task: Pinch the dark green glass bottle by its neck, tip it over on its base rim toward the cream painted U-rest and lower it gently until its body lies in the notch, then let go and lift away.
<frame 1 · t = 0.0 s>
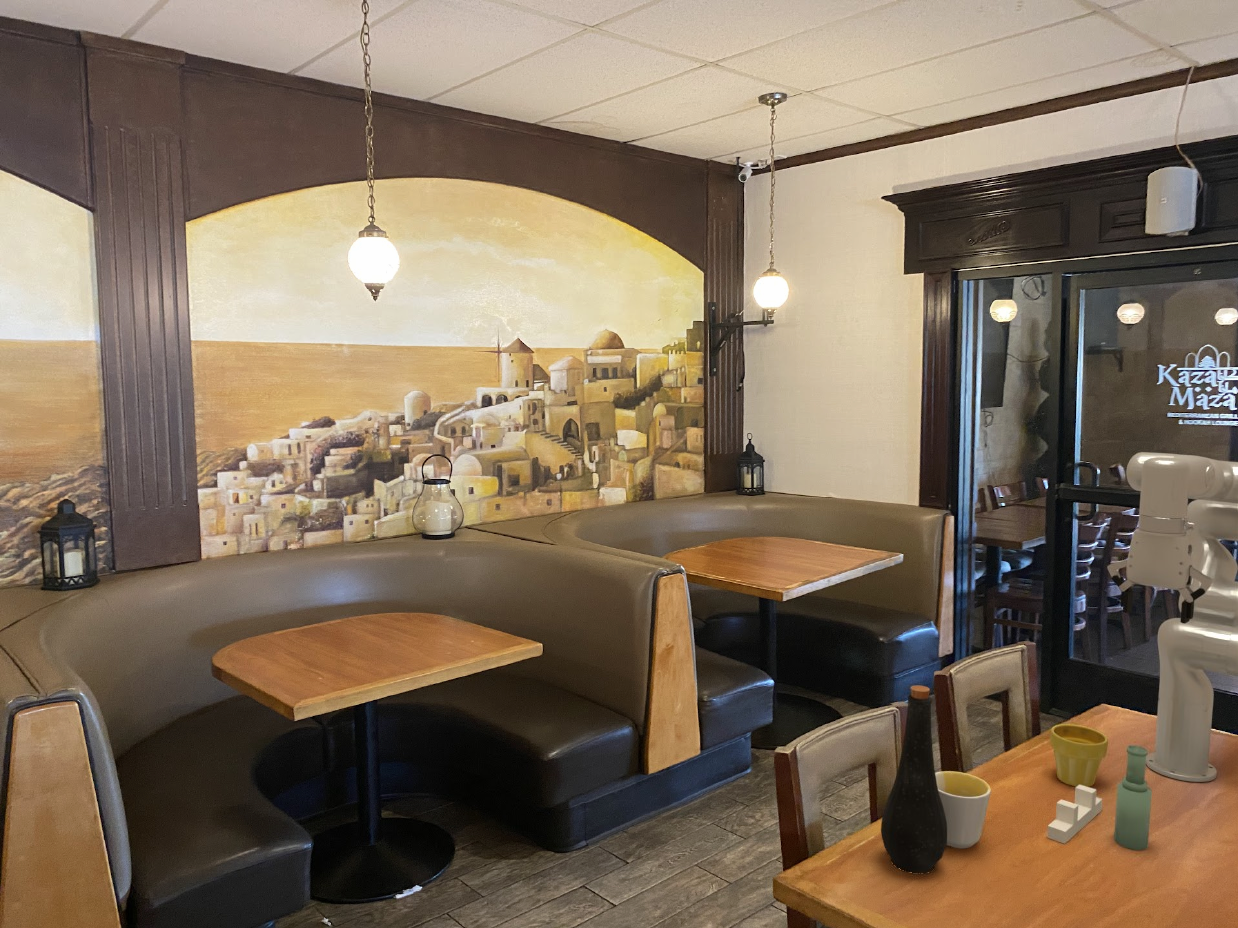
hand: (1155, 616, 173), 37 cm above the table, tool pointing down, fingers open, 9 cm apart
u rest: (1075, 823, 170), on the table
plant pot: (1076, 781, 188), on the table
bottle: (912, 863, 156), on the table
green bottle: (1130, 842, 164), on the table
mug: (962, 839, 165), on the table
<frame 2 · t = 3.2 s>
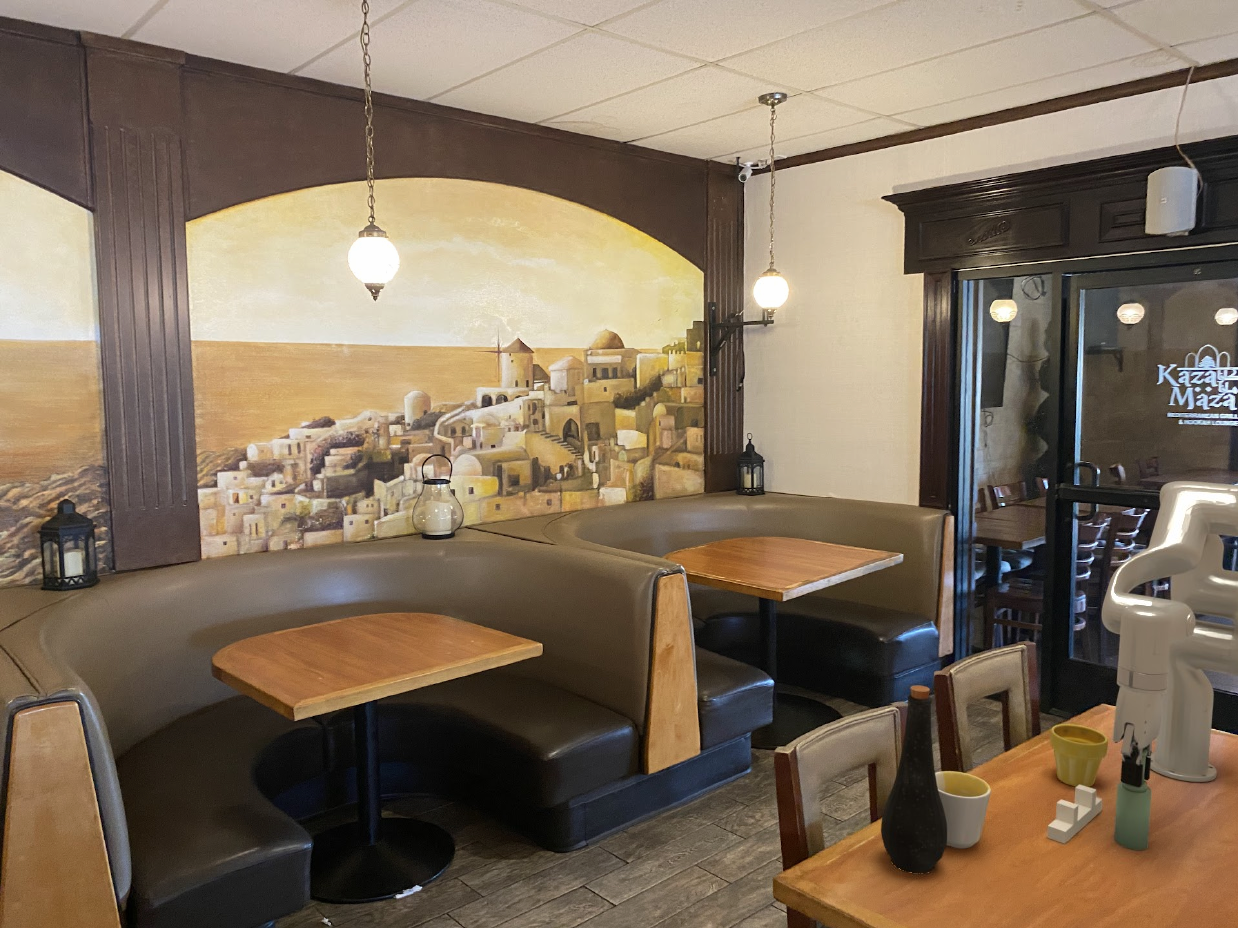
hand: (1135, 779, 162), 11 cm above the table, tool pointing down, fingers closed on green bottle, 3 cm apart
green bottle: (1130, 842, 164), on the table, touching gripper
everything else where it was.
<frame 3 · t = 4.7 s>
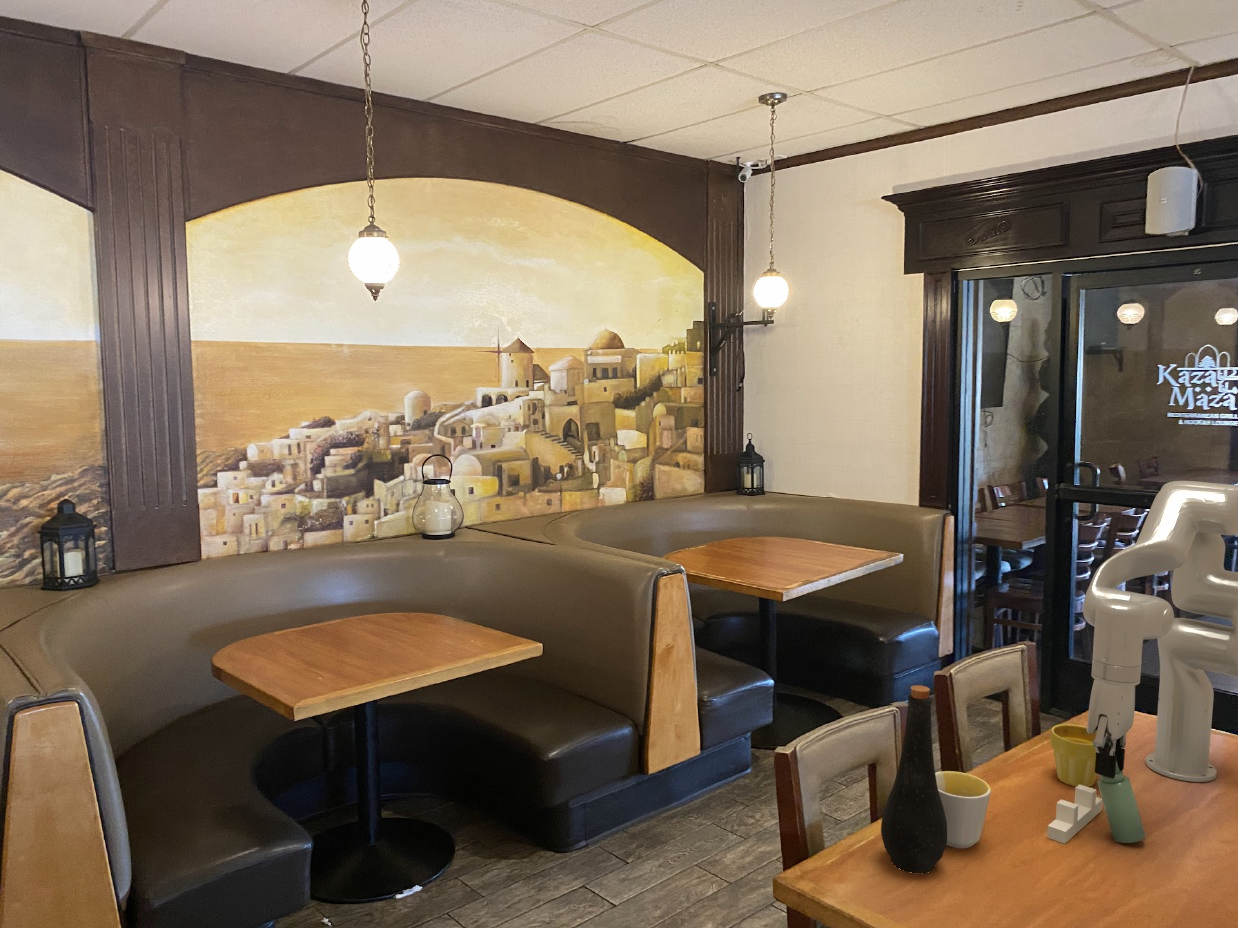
hand: (1109, 770, 165), 12 cm above the table, tool pointing down, fingers closed on green bottle, 3 cm apart
green bottle: (1129, 836, 164), point 1 cm above the table, tilted 18°, touching gripper
everything else where it was.
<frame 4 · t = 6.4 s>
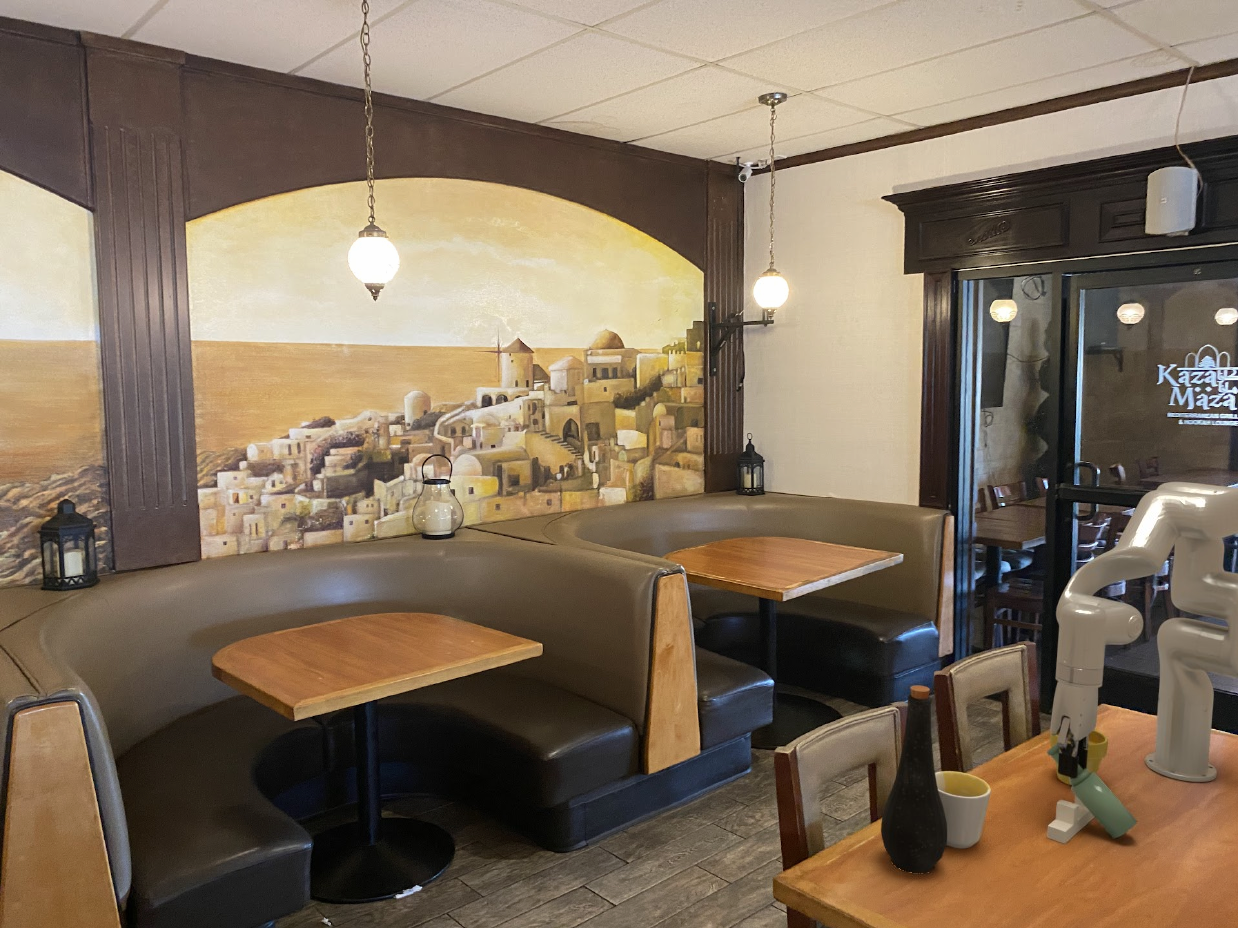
hand: (1072, 771, 169), 10 cm above the table, tool pointing down, fingers closed on green bottle, 3 cm apart
green bottle: (1125, 829, 164), point 2 cm above the table, tilted 47°, touching gripper
everything else where it was.
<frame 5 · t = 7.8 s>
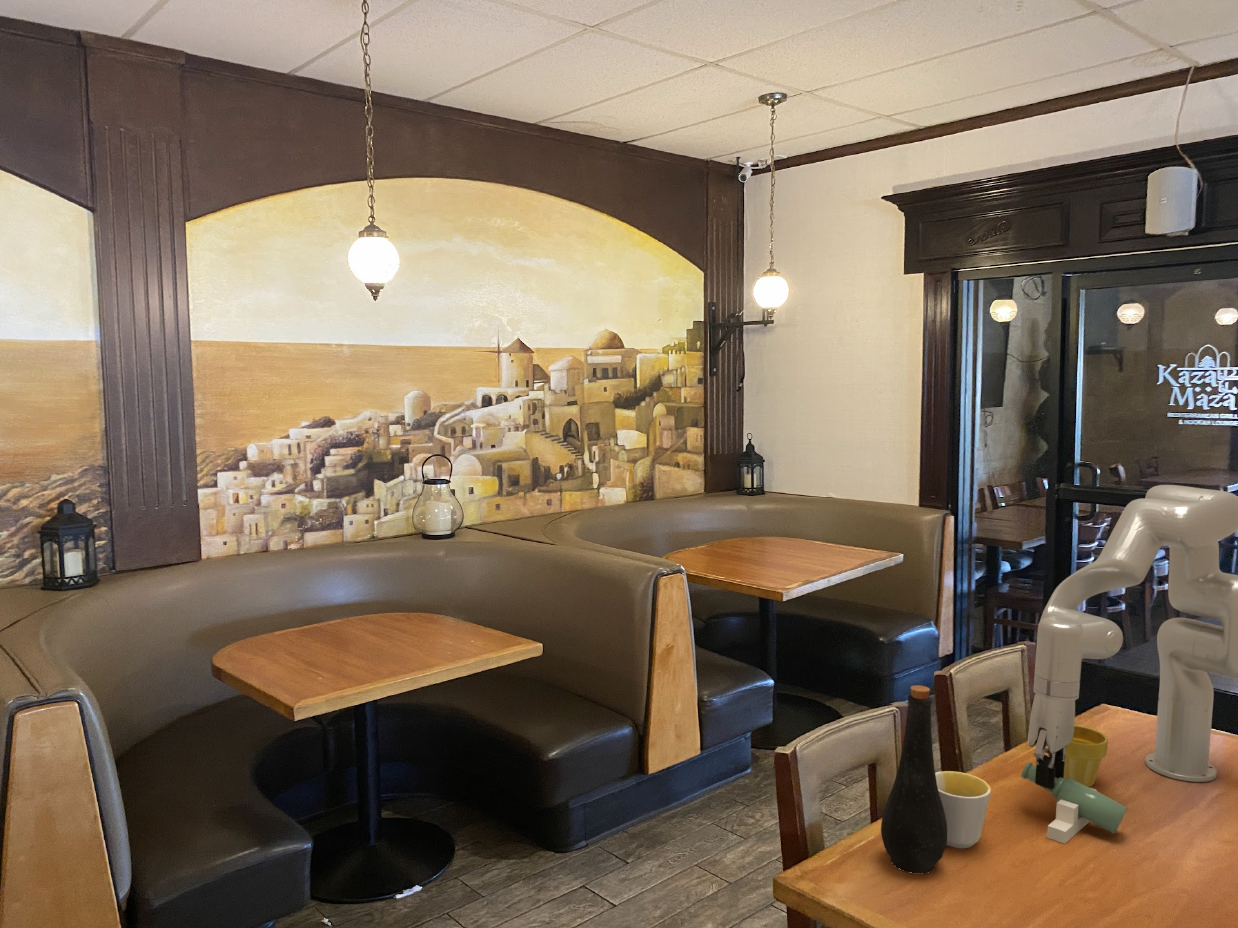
hand: (1049, 782, 172), 6 cm above the table, tool pointing down, fingers closed on green bottle, 3 cm apart
green bottle: (1120, 820, 165), point 3 cm above the table, tilted 75°, touching gripper, u rest
everything else where it was.
when the fingers open (4 cm above the table, at t = 9.5 s): green bottle stays where it is and tips over, resting on u rest.
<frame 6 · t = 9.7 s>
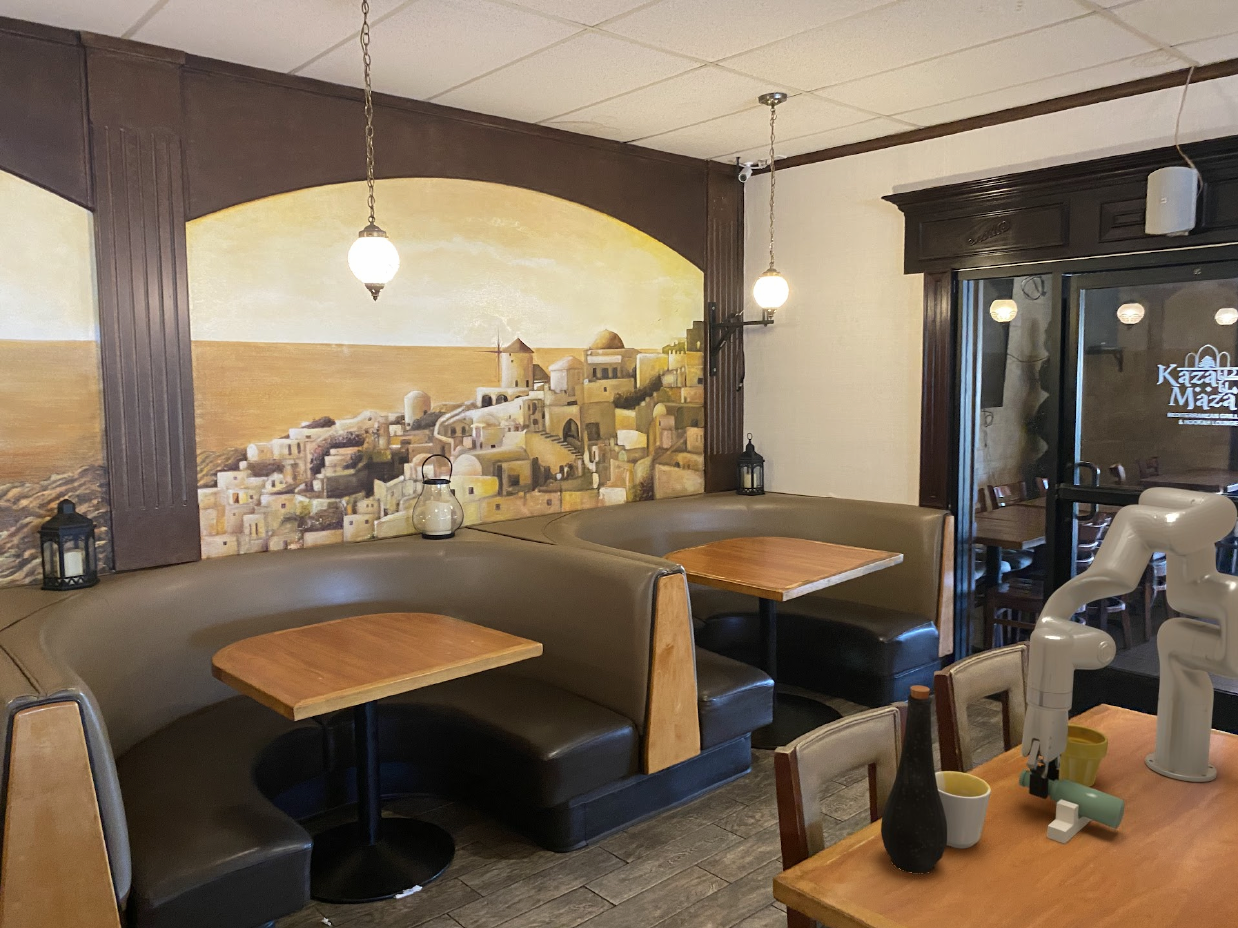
hand: (1043, 790, 174), 4 cm above the table, tool pointing down, fingers open, 4 cm apart
green bottle: (1119, 814, 165), point 4 cm above the table, tilted 86°, touching u rest
everything else where it was.
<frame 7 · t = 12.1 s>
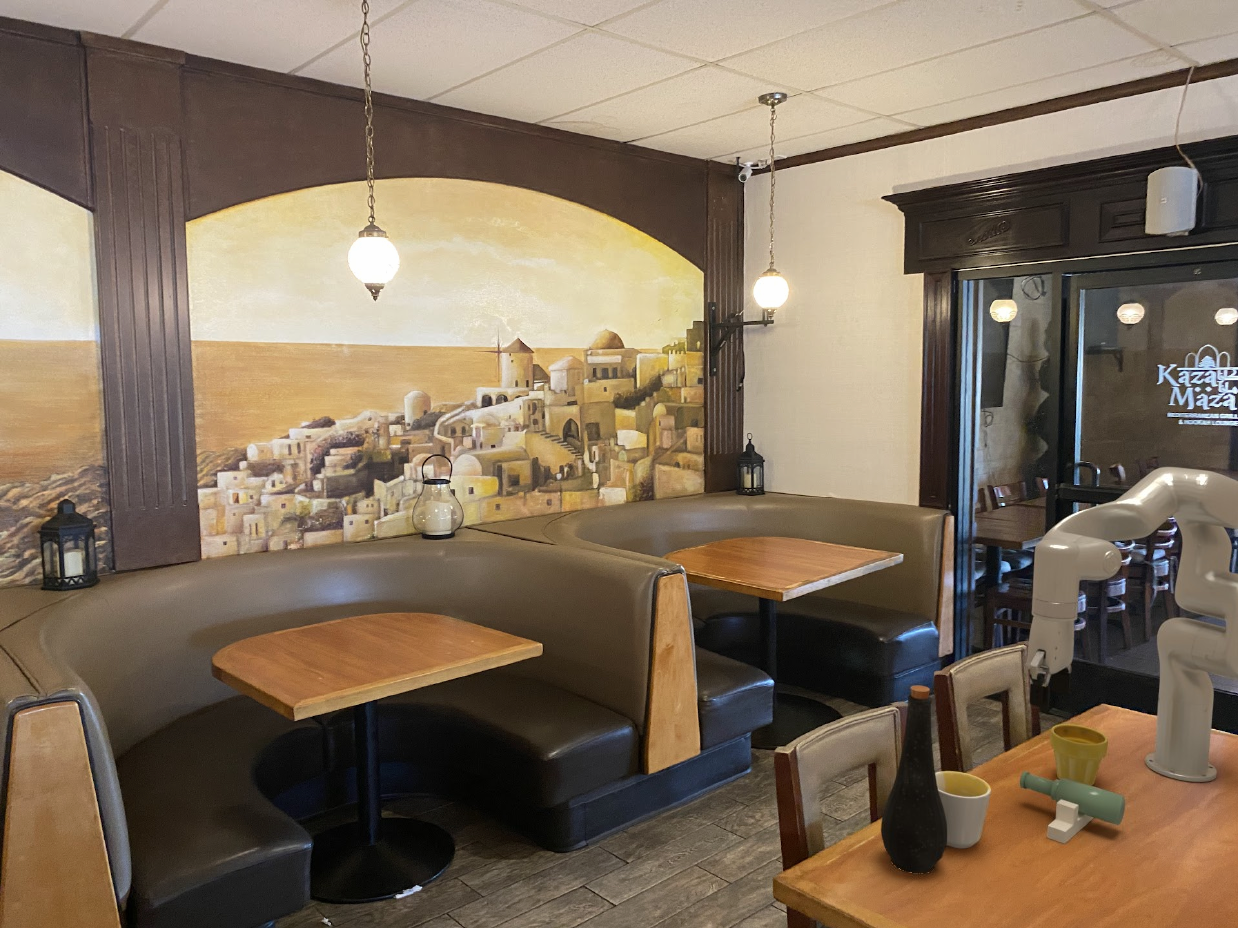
hand: (1049, 699, 172), 22 cm above the table, tool pointing down, fingers open, 9 cm apart
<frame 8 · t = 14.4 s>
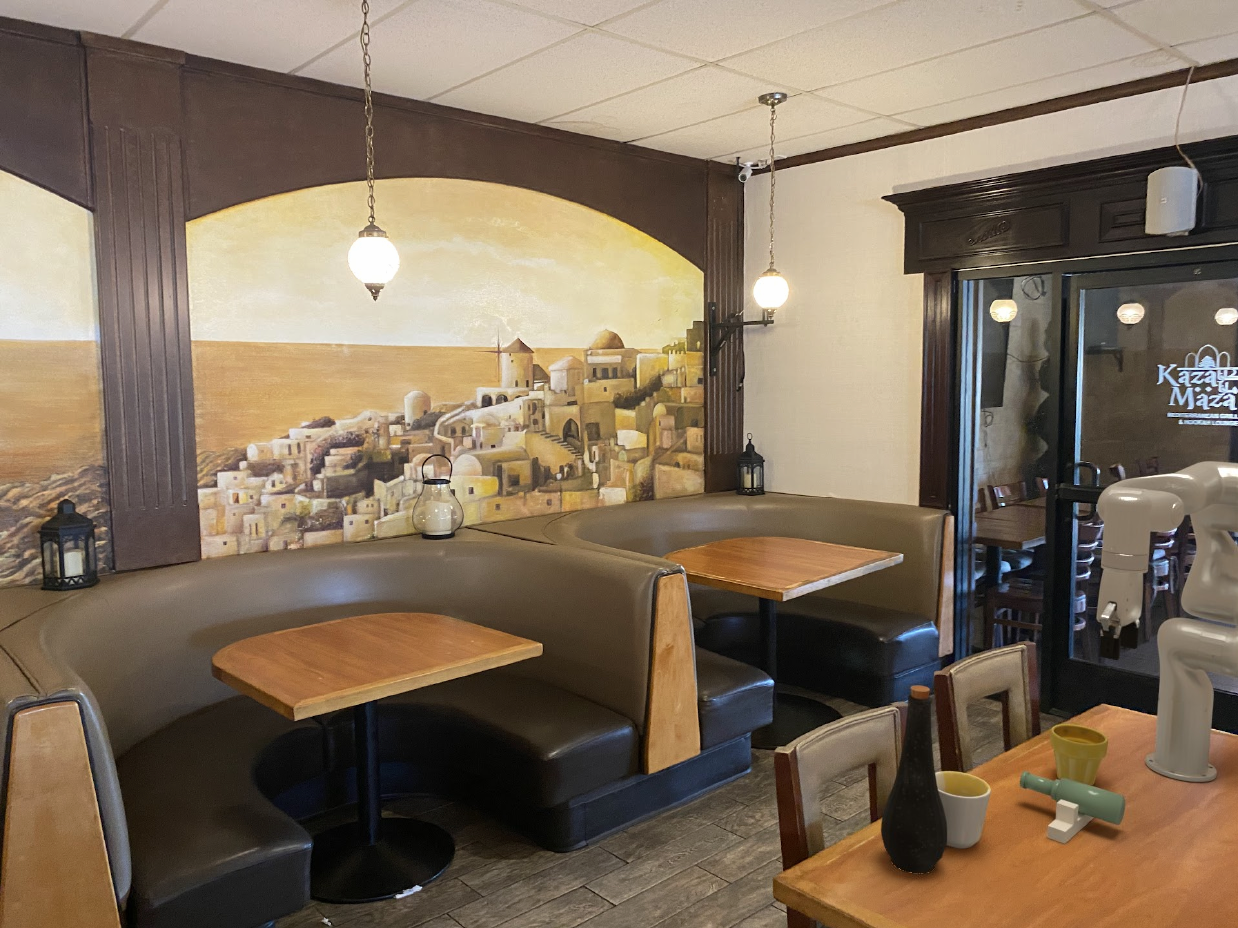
hand: (1118, 652, 172), 30 cm above the table, tool pointing down, fingers open, 9 cm apart
nothing on the table moved.
at the end: green bottle tilted 90°; green bottle touching u rest; the gripper is holding nothing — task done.
